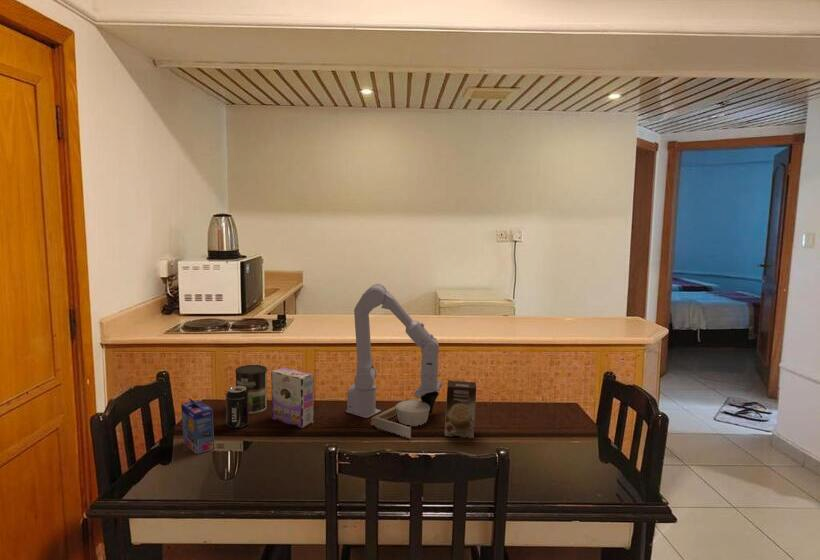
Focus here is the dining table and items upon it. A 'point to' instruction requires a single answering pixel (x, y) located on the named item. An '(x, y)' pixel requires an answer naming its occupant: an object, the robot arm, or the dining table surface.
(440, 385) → the robot arm
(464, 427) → the coffee box
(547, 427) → the dining table surface
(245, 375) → the coffee can
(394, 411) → the oak rail
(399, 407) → the ramekin
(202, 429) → the ink cartridge box
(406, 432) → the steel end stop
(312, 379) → the candy box
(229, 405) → the beverage can
